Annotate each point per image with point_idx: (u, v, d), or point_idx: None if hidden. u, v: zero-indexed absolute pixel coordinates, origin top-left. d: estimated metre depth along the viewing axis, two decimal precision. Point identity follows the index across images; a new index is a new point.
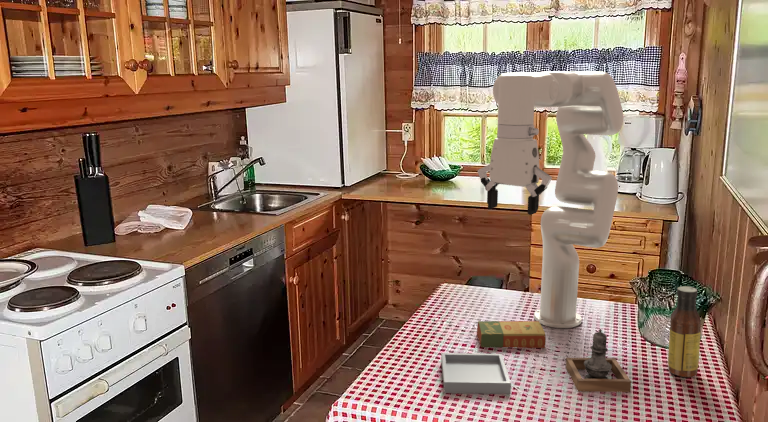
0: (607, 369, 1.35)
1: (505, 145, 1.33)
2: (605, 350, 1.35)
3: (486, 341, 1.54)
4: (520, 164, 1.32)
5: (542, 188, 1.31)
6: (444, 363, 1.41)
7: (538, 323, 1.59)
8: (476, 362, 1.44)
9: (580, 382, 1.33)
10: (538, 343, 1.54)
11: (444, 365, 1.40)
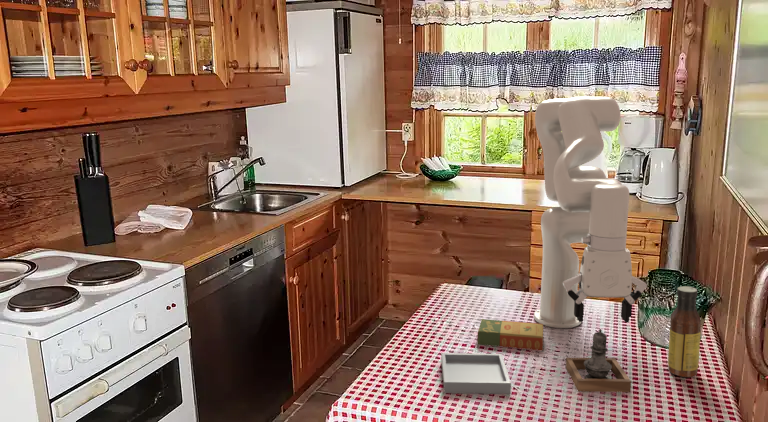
0: (607, 369, 1.35)
1: None
2: (605, 350, 1.35)
3: (483, 338, 1.56)
4: None
5: None
6: (444, 363, 1.41)
7: (541, 326, 1.58)
8: (476, 362, 1.44)
9: (580, 382, 1.33)
10: (535, 345, 1.53)
11: (444, 365, 1.40)
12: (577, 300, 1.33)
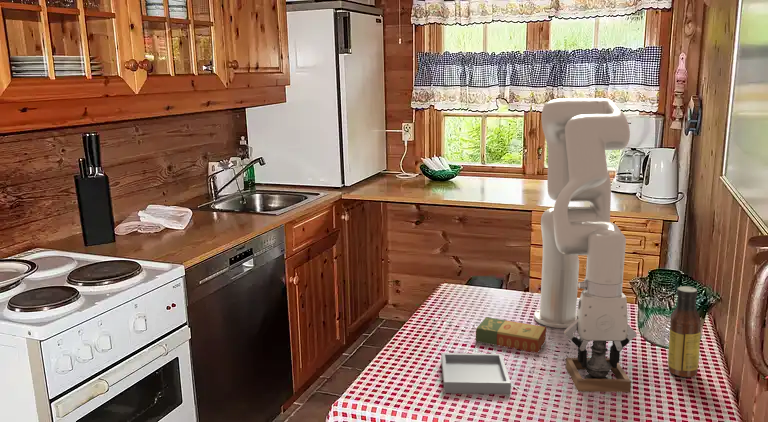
0: (607, 369, 1.35)
1: None
2: (605, 350, 1.35)
3: (480, 336, 1.57)
4: None
5: None
6: (444, 363, 1.41)
7: (542, 328, 1.56)
8: (476, 362, 1.44)
9: (580, 382, 1.33)
10: (531, 347, 1.52)
11: (444, 365, 1.40)
12: (580, 347, 1.35)
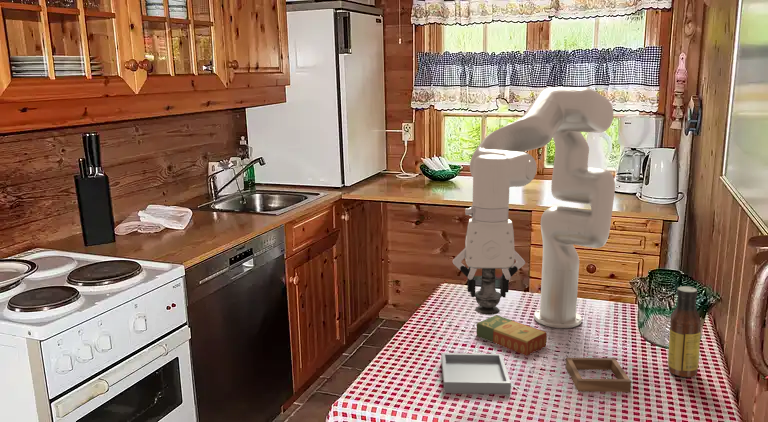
0: (496, 298, 1.33)
1: None
2: (494, 279, 1.33)
3: (480, 331, 1.60)
4: None
5: None
6: (444, 363, 1.41)
7: (541, 333, 1.53)
8: (476, 362, 1.44)
9: (580, 382, 1.33)
10: (521, 349, 1.51)
11: (444, 365, 1.40)
12: (468, 276, 1.33)
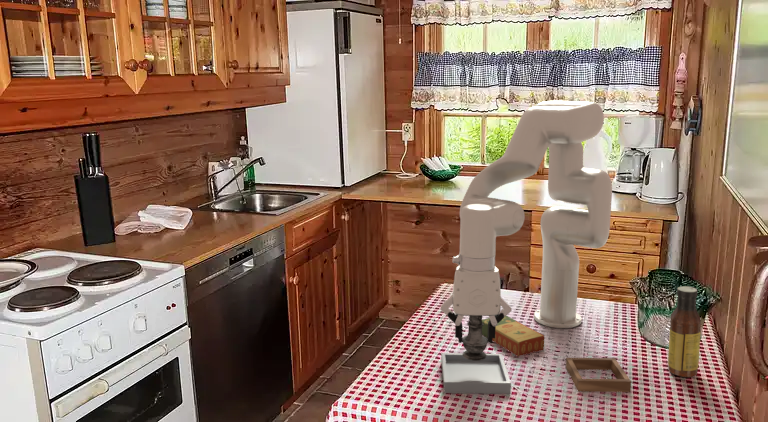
0: (482, 344, 1.35)
1: None
2: (480, 325, 1.35)
3: (482, 328, 1.62)
4: None
5: None
6: (444, 363, 1.41)
7: (537, 335, 1.52)
8: (476, 362, 1.44)
9: (580, 382, 1.33)
10: (513, 349, 1.51)
11: (444, 365, 1.40)
12: (456, 322, 1.35)
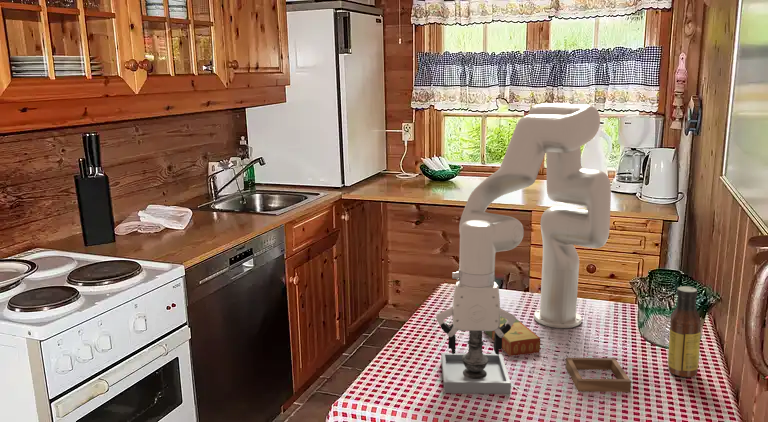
0: (482, 363, 1.36)
1: None
2: (480, 344, 1.36)
3: None
4: None
5: None
6: (444, 363, 1.41)
7: (533, 337, 1.51)
8: None
9: (580, 382, 1.33)
10: (506, 348, 1.51)
11: (444, 365, 1.40)
12: (449, 333, 1.36)
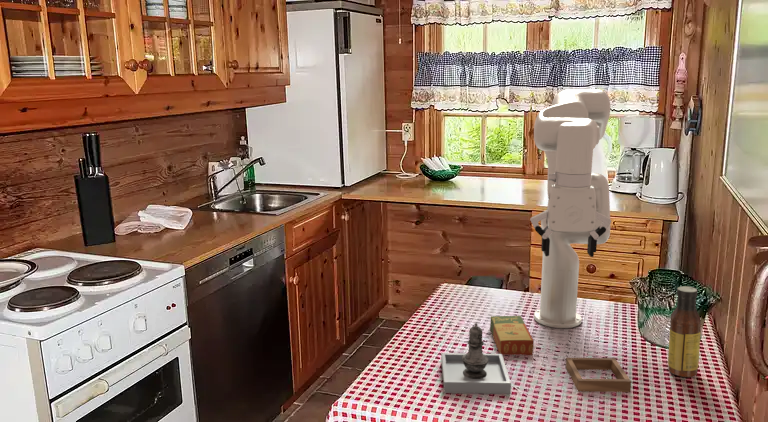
0: (482, 363, 1.36)
1: None
2: (480, 344, 1.36)
3: (490, 325, 1.64)
4: None
5: None
6: (444, 363, 1.41)
7: (526, 339, 1.50)
8: None
9: (580, 382, 1.33)
10: (498, 347, 1.52)
11: (444, 365, 1.40)
12: (543, 235, 1.38)
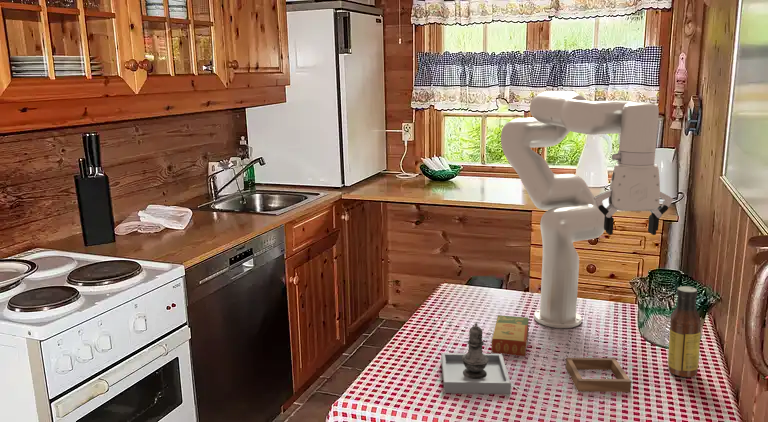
0: (482, 363, 1.36)
1: None
2: (480, 344, 1.36)
3: None
4: None
5: None
6: (444, 363, 1.41)
7: (518, 339, 1.50)
8: None
9: (580, 382, 1.33)
10: None
11: (444, 365, 1.40)
12: (607, 214, 1.41)
